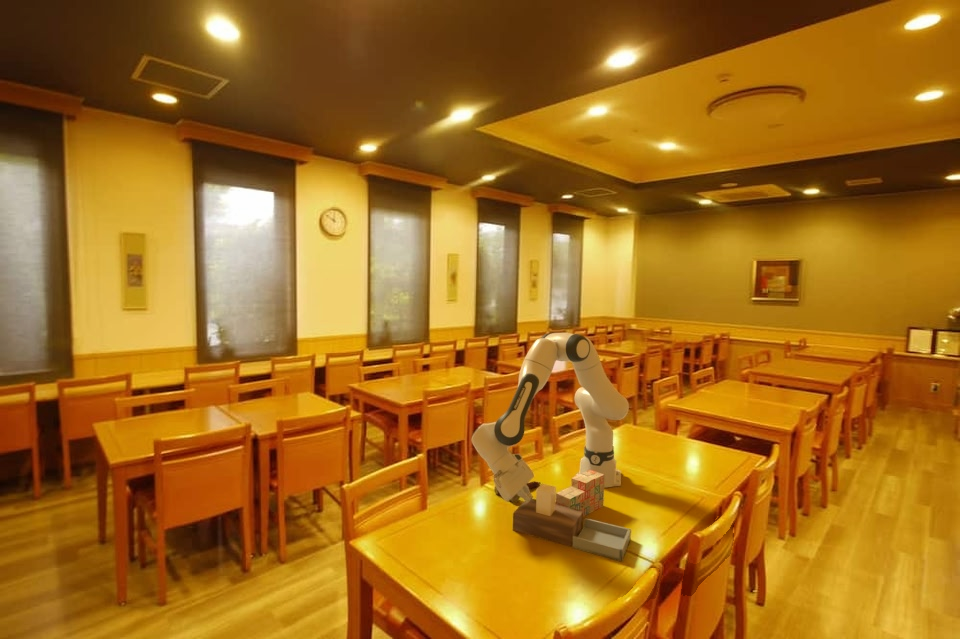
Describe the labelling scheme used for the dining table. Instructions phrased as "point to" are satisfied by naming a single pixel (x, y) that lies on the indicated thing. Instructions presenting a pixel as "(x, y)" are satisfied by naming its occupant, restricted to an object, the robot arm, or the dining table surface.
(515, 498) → the gavel
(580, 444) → the dining table surface
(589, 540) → the box
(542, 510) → the tile block
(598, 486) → the stack of blocks
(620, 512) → the dining table surface
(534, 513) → the dark brown brick
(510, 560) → the dining table surface
